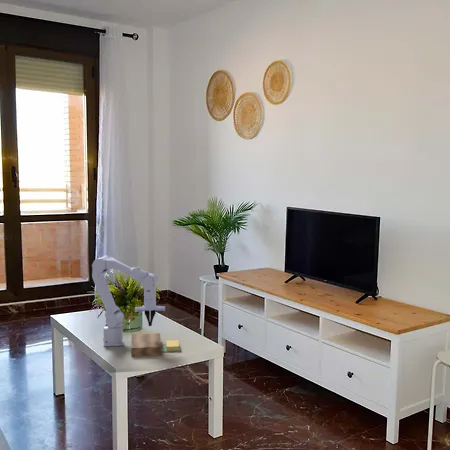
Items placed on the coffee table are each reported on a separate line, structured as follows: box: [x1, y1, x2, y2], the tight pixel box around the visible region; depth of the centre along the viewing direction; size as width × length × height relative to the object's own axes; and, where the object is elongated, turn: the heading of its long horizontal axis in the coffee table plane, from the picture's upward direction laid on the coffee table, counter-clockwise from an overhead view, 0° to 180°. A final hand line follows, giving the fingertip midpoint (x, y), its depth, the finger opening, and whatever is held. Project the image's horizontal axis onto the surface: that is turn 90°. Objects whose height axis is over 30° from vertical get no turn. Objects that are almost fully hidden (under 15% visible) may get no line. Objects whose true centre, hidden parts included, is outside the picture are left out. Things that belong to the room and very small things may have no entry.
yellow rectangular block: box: [165, 339, 179, 351], centre depth 249 cm, size 6×9×2 cm, turn 9°
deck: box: [130, 332, 163, 357], centre depth 248 cm, size 14×20×4 cm
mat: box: [161, 343, 182, 353], centre depth 249 cm, size 9×11×1 cm
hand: (150, 325), depth 250 cm, fingers closed
